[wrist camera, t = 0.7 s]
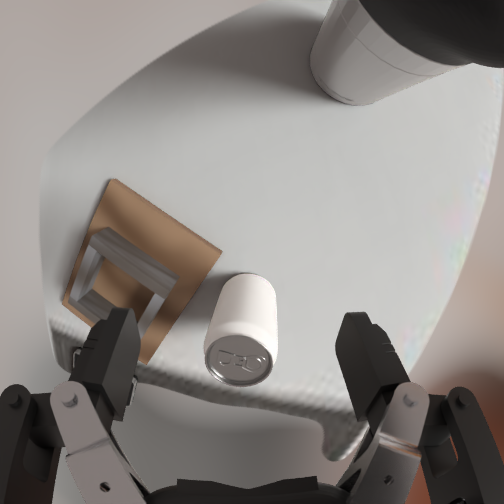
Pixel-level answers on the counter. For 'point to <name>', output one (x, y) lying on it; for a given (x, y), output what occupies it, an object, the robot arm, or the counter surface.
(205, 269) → the socket board
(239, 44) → the counter surface
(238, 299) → the can
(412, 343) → the counter surface
